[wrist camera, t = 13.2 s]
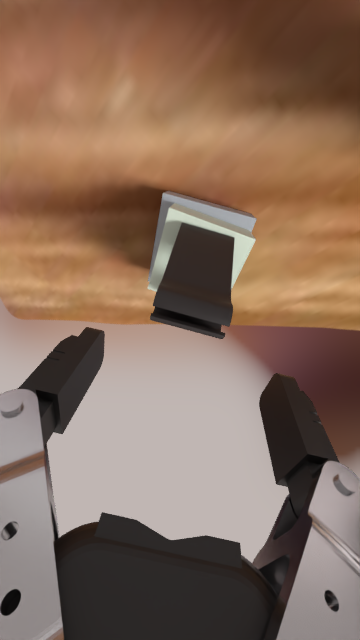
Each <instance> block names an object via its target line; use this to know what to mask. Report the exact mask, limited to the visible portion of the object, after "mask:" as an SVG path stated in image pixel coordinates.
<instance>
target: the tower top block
mask: <svg viewBox="0 0 360 640" xmlns="http://www.w3.org/2000/svg"><path fill="white" fill-rule="evenodd" d="M182 222H183V223H187V224H190V225H193V226H197V227H200V228H204V229H207V230H210V231H214V232H217V233H221V234H224V235H227V236H231V237H234V238H235V241H234V255H233V270H232V284H231V289H232V287H233V285H234V283H235V281H236V279H237V277H238V275H239V273H240V271H241V269H242V267H243V265H244V263H245V261H246V259H247V257H248V255H249V253H250V251H251V249H252V247H253V244H254V242H255V240H256V239H255V237H254V236H253V235H252V233H251V232H250V231H249V230H247V229H244V228H241V227H239V226H236V225H233V224H231V223H228V222H225V221H223V220H220V219H217V218H214V217H212V216H209V215H206V214H204V213H201V212H198V211H196V210H193V209H190V208H187V207H185V206H182V205H179V204H177V203H174V204H173V205H172V206H170V207H169V210H168V214H167V218H166V221H165V225H164V229H163V233H162V237H161V240H160V244H159V248H158V252H157V256H156V259H155V263H154V267H153V271H152V274H151V278H150V282H149V286H148V289H150V290H153V291H156V292H157V289H158V287H159V285H160V283H161V281H162V278H163V275H164V272H165V269H166V267H167V264H168V261H169V258H170V255H171V252H172V249H173V246H174V243H175V241H176V238H177V235H178V232H179V229H180V226H181V223H182Z"/></svg>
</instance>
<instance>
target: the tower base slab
mask: <svg viewBox="0 0 360 640" xmlns="http://www.w3.org/2000/svg"><path fill="white" fill-rule="evenodd" d="M174 203H177V204H179V205H182V206H185V207H187V208H190V209H193V210H196V211H198V212H201V213H204V214H206V215H209V216H212V217H214V218H217V219H220V220H223V221H225V222H228V223H231V224H233V225H236V226H239V227H241V228H244V229H247V230H249V231H250V232H252V229H253V227H254V224H255V222H256V218H255V217H254V216H253V215H252V214H250V213H247V212H243V211H239V210H236V209H232V208H229V207H225V206H221V205H218V204H214V203H211V202H207V201H203V200H200V199H196V198H193V197H189V196H186V195H182V194H178V193H175V192H171V191H166V192H164V193H163V196H162V202H161V208H160V213H159V219H158V225H157V231H156V237H155V243H154V249H153V255H152V261H151V266H150V272H149V278H148V281H149V282H150V278H151V274H152V271H153V267H154V263H155V259H156V256H157V252H158V248H159V244H160V240H161V237H162V233H163V229H164V225H165V221H166V218H167V214H168V210H169V207H170V206H172V205H173V204H174Z"/></svg>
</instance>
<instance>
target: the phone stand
mask: <svg viewBox="0 0 360 640" xmlns="http://www.w3.org/2000/svg"><path fill="white" fill-rule="evenodd" d="M234 241H235V238H234V237H231V236H227V235H224V234H221V233H217V232H214V231H210V230H207V229H204V228H200V227H197V226H193V225H190V224H187V223H183V222H182V223H181V226H180V229H179V232H178V235H177V238H176V241H175V243H174V246H173V249H172V252H171V255H170V258H169V261H168V264H167V267H166V269H165V272H164V275H163V278H162V281H161V283H160V285H159V287H158V289H157V292H156V296H155V299H154V303H153V306H155V309H154V312H153V313H151V316H150V320H153V321H156V322H160V323H164V324H168V325H171V326H175V327H179V328H183V329H186V330H190V331H194V332H197V333H201V334H204V335H208V336H212V337H215V338H219V339H223V338H224V337H225V333H223V332H221V325H225V326H228V327H229V326H230V323H231V319H232V313H233V305H232V303H231V284H232V270H233V255H234Z"/></svg>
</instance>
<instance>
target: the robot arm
mask: <svg viewBox="0 0 360 640" xmlns="http://www.w3.org/2000/svg"><path fill="white" fill-rule="evenodd" d="M104 336H105V334H104V331H102V330H97V329H93V328H89V327H86V328H85V329H84V330H83V332H82V333H81V334H80V335H79V336H78V337H77V336H73V335H71V336H70V337H68V338H66V339H64V340H63V341H61V342H60V343H59V344H58V345H57V346H56V347H55V348H54V350H53V352H51V353H50V354H49V355H48V356H47V358H46V359H44V361H43V362H42V363H41V364H40V365H39V366H38V367H37V368H36V369H35V371H34V372H33V373H32V374H31V375H30V376H29V377H28V378H27V379H26V381H25V382H24V383H23V384H22V385H21V386H20V387H19V388H18V389H14V390H10V391H7V392H4V393H2V394H0V640H360V479H359V478H358V477H357V476H356V475H355V473H354V472H352V471H351V470H350V469H349V468H348V467H346V466H345V465H343V464H341V463H340V462H339V461H338V459H337V456H336V454H335V452H334V449H333V447H332V445H331V443H330V441H329V439H328V436H327V434H326V432H325V430H324V427H323V425H321V421H320V419H319V416H318V415H317V412H316V410H315V408H314V406H313V403H312V401H311V400H310V399H309V398H308V396H307V395H306V394H305V393H304V392H303V391H300V389H299V387H298V385H297V382H296V380H295V378H293V377H290V376H286V375H282V374H278V373H276V374H274V375H273V377H272V378H271V380H270V381H269V383H268V385H267V386H266V388H265V389H264V391H263V392H262V394H261V397H260V402H259V406H260V411H261V416H262V420H263V425H264V430H265V434H266V439H267V444H268V448H269V453H270V457H271V462H272V467H273V471H274V476H275V481H276V484H278V485H282V486H286V487H288V489H289V495H288V496H287V497H286V499H285V501H284V503H283V506H282V508H281V510H280V512H279V515H278V517H277V519H276V521H275V524H274V526H273V528H272V530H271V533H270V535H269V537H268V539H267V541H266V543H265V545H264V546H263V548H262V549H261V550H260V551H259V553H258V554H257V556H256V557H255V559H254V561H253V563H251V562H250V561H248V560H247V559H246V558H245V557H243V556H242V555H241V549H240V543H238V542H233V541H229V540H224V539H220V538H215V537H211V536H200V537H193V538H186V539H179V540H168V539H166V538H165V537H163V536H161V535H160V534H158V533H157V532H155V531H153V530H152V529H150V528H148V527H147V526H145V525H144V524H142V523H140V522H139V521H137V520H134V519H129V518H125V517H120V516H116V515H112V514H107V513H102V514H101V517H100V520H99V522H93V523H89V524H85V525H82V526H79V527H77V528H75V529H73V530H71V531H69V532H67V533H66V534H64V535H62V536H61V537H60V538H59V531H58V523H57V516H56V509H55V503H54V496H53V489H52V481H51V474H50V466H49V458H48V450H47V441H48V440H49V438H50V437H51V435H52V433H53V432H56V433H60V434H63V432H64V430H65V429H66V427H67V425H68V424H69V422H70V420H71V418H72V417H73V415H74V413H75V411H76V410H77V408H78V406H79V404H80V403H81V401H82V399H83V397H84V396H85V394H86V392H87V390H88V388H89V387H90V385H91V383H92V381H93V380H94V378H95V376H96V374H97V373H98V371H99V369H100V367H101V364H102V361H103V357H104Z"/></svg>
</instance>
